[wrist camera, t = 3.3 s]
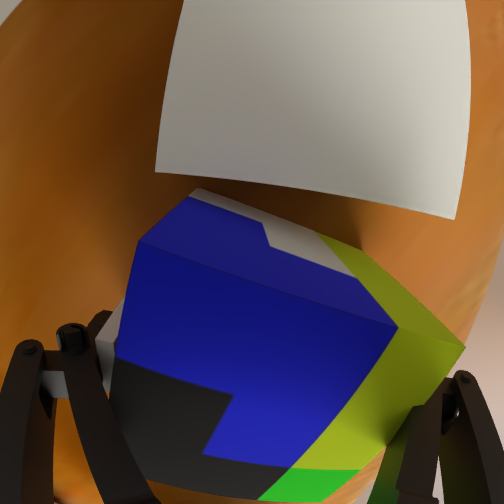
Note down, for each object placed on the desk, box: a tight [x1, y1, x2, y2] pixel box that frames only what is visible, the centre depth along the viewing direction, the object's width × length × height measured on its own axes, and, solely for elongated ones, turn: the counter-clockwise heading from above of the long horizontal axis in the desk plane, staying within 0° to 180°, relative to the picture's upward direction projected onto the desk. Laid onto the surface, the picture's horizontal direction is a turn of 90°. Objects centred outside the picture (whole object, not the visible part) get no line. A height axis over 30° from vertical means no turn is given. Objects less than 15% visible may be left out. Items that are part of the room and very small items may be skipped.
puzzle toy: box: [109, 187, 466, 502], centre depth 13 cm, size 10×10×10 cm
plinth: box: [155, 0, 471, 220], centre depth 12 cm, size 14×14×4 cm
